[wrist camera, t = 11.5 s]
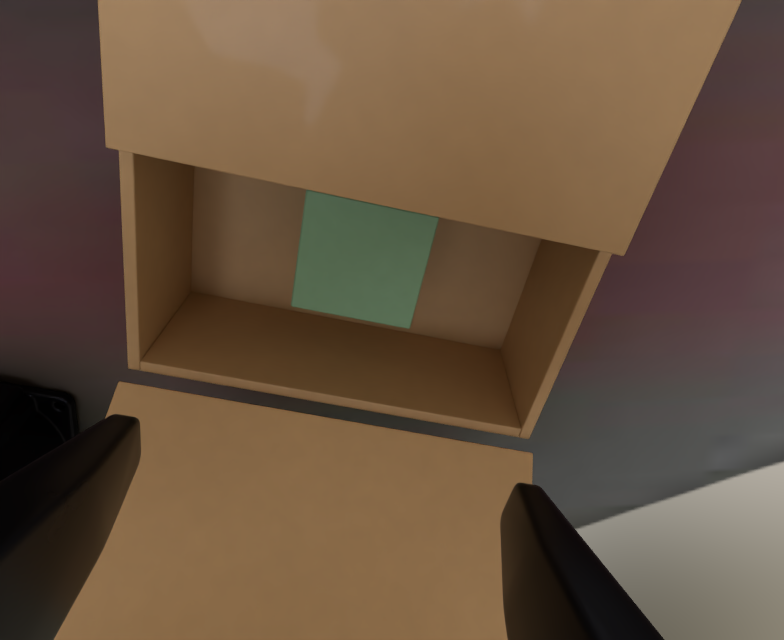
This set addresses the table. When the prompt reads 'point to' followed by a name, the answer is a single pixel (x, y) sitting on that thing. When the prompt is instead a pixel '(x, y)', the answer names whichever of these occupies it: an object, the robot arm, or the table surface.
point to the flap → (297, 529)
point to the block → (361, 259)
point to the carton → (389, 181)
